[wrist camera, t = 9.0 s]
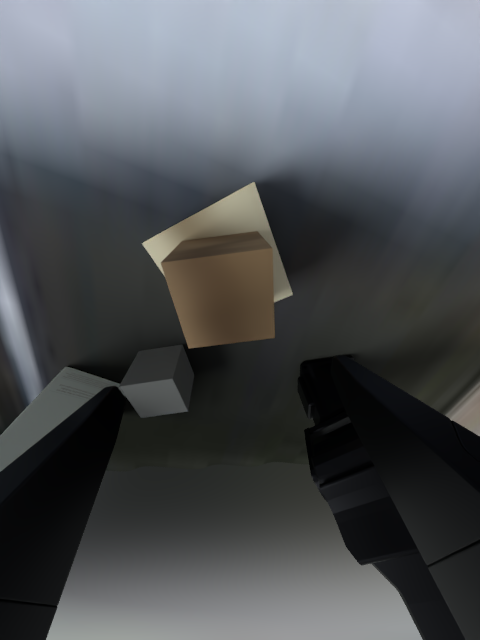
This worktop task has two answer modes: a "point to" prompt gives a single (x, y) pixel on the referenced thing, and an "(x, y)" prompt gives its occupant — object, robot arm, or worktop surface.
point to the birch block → (224, 231)
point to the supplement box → (49, 411)
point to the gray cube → (159, 381)
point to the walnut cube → (222, 288)
